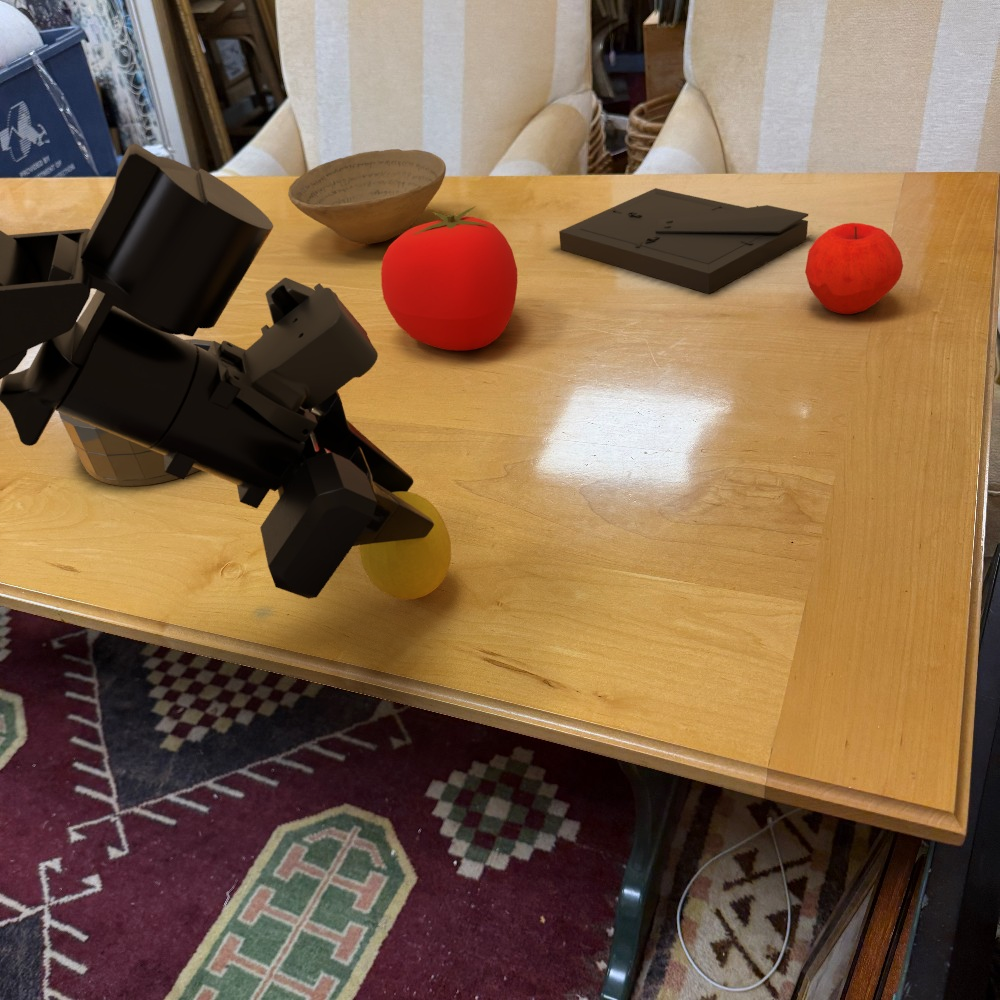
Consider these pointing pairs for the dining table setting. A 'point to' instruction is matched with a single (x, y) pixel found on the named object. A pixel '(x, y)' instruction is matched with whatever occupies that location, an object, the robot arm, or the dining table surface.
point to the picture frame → (686, 238)
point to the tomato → (451, 282)
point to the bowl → (370, 192)
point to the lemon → (410, 557)
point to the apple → (853, 267)
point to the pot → (119, 452)
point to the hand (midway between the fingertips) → (419, 507)
